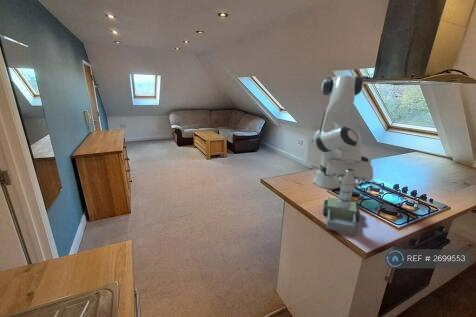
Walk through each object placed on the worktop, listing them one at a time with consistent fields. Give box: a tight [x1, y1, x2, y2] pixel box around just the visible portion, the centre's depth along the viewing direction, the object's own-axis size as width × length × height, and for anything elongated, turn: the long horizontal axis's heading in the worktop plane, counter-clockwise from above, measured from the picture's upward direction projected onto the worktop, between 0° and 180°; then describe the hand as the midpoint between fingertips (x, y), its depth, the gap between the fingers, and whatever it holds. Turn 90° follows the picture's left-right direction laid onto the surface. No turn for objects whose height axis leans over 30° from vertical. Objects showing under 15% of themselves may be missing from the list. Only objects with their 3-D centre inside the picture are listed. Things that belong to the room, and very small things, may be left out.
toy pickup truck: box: [322, 197, 361, 236], centre depth 115 cm, size 23×17×6 cm
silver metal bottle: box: [337, 169, 357, 210], centre depth 105 cm, size 6×7×20 cm
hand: (347, 185), depth 104 cm, fingers closed on silver metal bottle, 6 cm apart
